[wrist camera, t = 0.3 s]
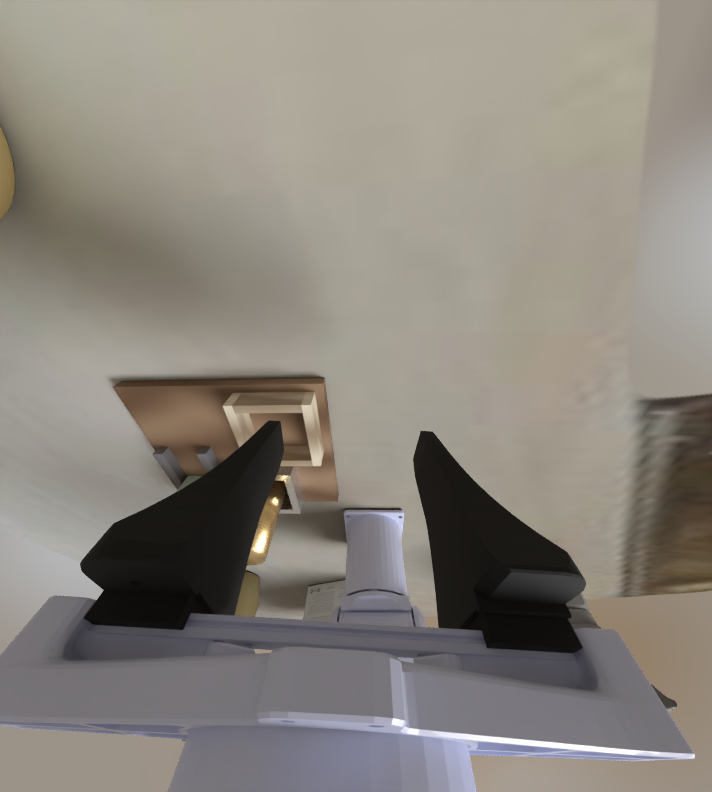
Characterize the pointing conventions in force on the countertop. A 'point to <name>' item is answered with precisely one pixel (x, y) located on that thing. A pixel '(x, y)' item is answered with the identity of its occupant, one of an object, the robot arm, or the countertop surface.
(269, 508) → the brass cylinder plug
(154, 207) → the countertop surface
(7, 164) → the sculpture
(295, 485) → the steel socket
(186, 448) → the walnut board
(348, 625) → the robot arm
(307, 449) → the ash socket frame
